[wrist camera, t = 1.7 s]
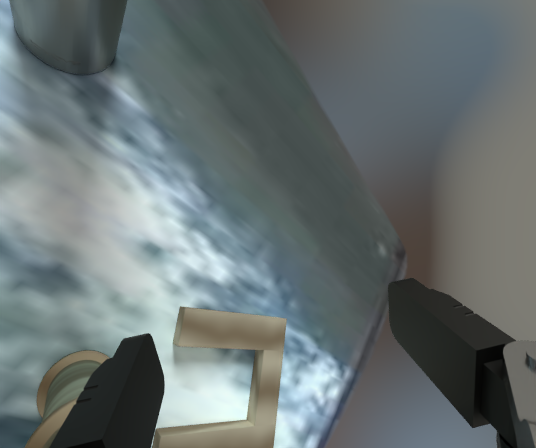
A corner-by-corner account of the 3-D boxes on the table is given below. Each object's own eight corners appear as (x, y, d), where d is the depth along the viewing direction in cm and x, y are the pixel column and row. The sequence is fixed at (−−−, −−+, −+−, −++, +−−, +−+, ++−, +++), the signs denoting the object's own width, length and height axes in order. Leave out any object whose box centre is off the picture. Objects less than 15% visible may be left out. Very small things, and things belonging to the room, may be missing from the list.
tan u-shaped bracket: (180, 306, 35) (185, 307, 33) (277, 317, 42) (286, 318, 40) (147, 473, 30) (151, 484, 28) (262, 454, 37) (271, 461, 36)
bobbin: (50, 349, 28) (38, 398, 16) (124, 351, 31) (158, 393, 19) (26, 428, 26) (-6, 546, 14) (108, 421, 29) (134, 513, 18)
